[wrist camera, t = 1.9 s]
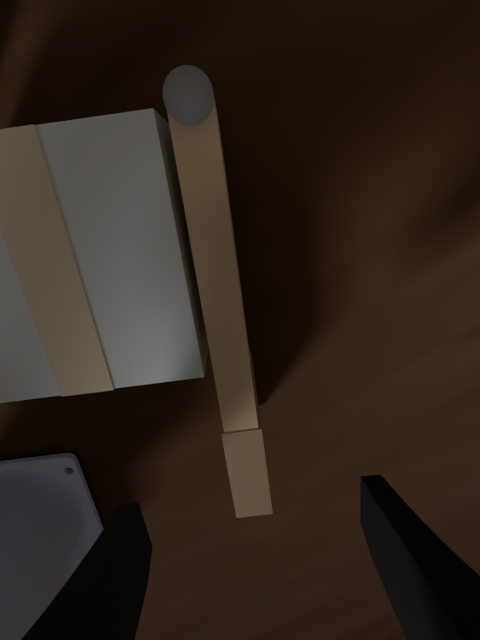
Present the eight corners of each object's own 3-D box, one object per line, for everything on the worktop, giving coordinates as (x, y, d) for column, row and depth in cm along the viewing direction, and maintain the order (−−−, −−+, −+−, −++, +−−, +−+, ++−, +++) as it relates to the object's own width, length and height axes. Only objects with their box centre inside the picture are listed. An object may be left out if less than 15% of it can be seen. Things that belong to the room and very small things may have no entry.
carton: (212, 315, 18) (204, 378, 12) (55, 336, 18) (-28, 408, 12) (182, 137, 15) (152, 107, 9) (-6, 163, 15) (-152, 150, 9)
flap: (259, 411, 20) (273, 519, 13) (234, 414, 20) (236, 523, 13) (220, 115, 14) (213, 60, 8) (186, 120, 14) (153, 69, 8)
